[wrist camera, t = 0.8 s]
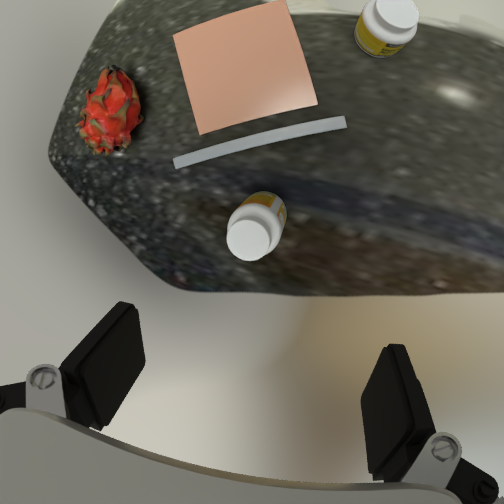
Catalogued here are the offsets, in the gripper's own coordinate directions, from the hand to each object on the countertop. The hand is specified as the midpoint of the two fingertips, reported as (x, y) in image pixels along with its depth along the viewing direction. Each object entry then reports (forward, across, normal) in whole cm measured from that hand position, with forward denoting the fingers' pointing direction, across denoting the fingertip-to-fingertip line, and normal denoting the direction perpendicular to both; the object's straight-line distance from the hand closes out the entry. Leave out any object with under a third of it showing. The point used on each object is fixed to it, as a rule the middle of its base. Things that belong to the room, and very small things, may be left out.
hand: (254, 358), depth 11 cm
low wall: (+27, +4, -7) cm, 28 cm away
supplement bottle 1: (+27, +2, +2) cm, 27 cm away
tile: (+26, +7, -16) cm, 32 cm away
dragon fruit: (+28, +22, -10) cm, 37 cm away
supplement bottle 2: (+26, -8, -21) cm, 35 cm away
